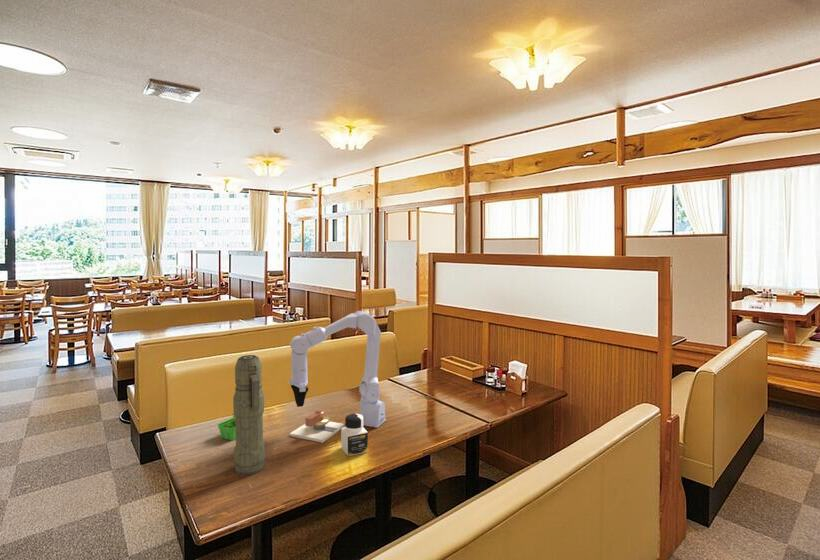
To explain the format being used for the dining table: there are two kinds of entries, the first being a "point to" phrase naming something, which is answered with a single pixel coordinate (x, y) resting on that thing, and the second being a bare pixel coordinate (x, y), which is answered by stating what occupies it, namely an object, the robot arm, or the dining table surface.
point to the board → (317, 431)
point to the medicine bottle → (354, 435)
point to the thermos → (248, 416)
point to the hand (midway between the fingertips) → (299, 405)
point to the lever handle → (316, 419)
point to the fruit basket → (228, 429)
